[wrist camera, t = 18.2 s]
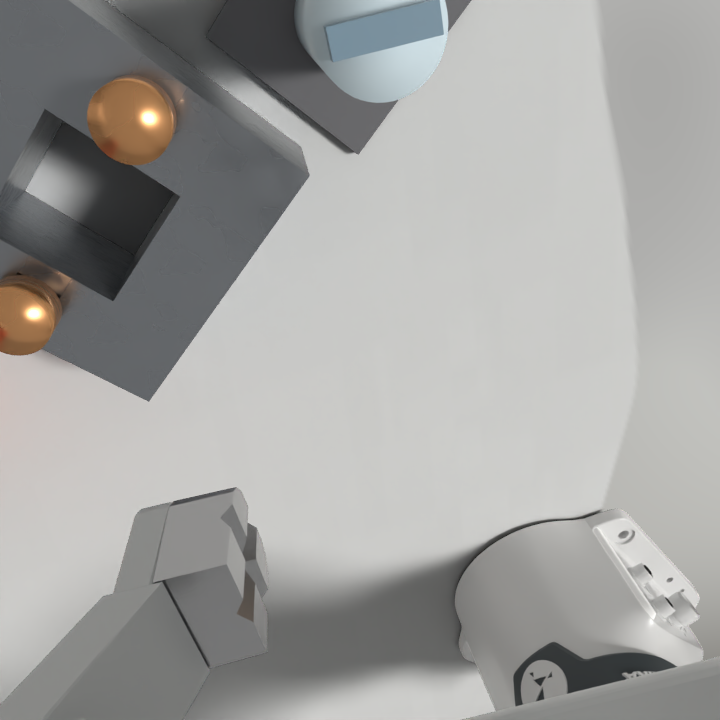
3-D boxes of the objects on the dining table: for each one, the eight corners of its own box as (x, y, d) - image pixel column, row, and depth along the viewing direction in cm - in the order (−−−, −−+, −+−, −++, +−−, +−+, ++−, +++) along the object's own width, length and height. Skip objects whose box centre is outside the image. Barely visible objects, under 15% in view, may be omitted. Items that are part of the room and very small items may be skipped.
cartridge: (377, -48, 29) (444, -70, 19) (394, 56, 31) (462, 88, 21) (282, -25, 29) (298, -34, 19) (307, 79, 31) (333, 121, 21)
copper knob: (87, 275, 31) (63, 315, 27) (58, 322, 32) (32, 366, 28) (25, 241, 30) (-9, 278, 26) (-3, 291, 31) (-39, 333, 27)
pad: (469, -3, 31) (473, -3, 30) (356, 152, 34) (358, 154, 33) (318, -153, 27) (320, -155, 27) (206, 36, 30) (205, 36, 30)
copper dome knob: (196, 98, 28) (186, 115, 24) (160, 155, 29) (146, 180, 25) (131, 51, 27) (111, 62, 23) (97, 113, 28) (72, 133, 24)
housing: (301, 147, 33) (309, 175, 28) (163, 345, 38) (148, 401, 33) (34, -52, 28) (-16, -61, 22) (-90, 209, 32) (-156, 251, 27)
